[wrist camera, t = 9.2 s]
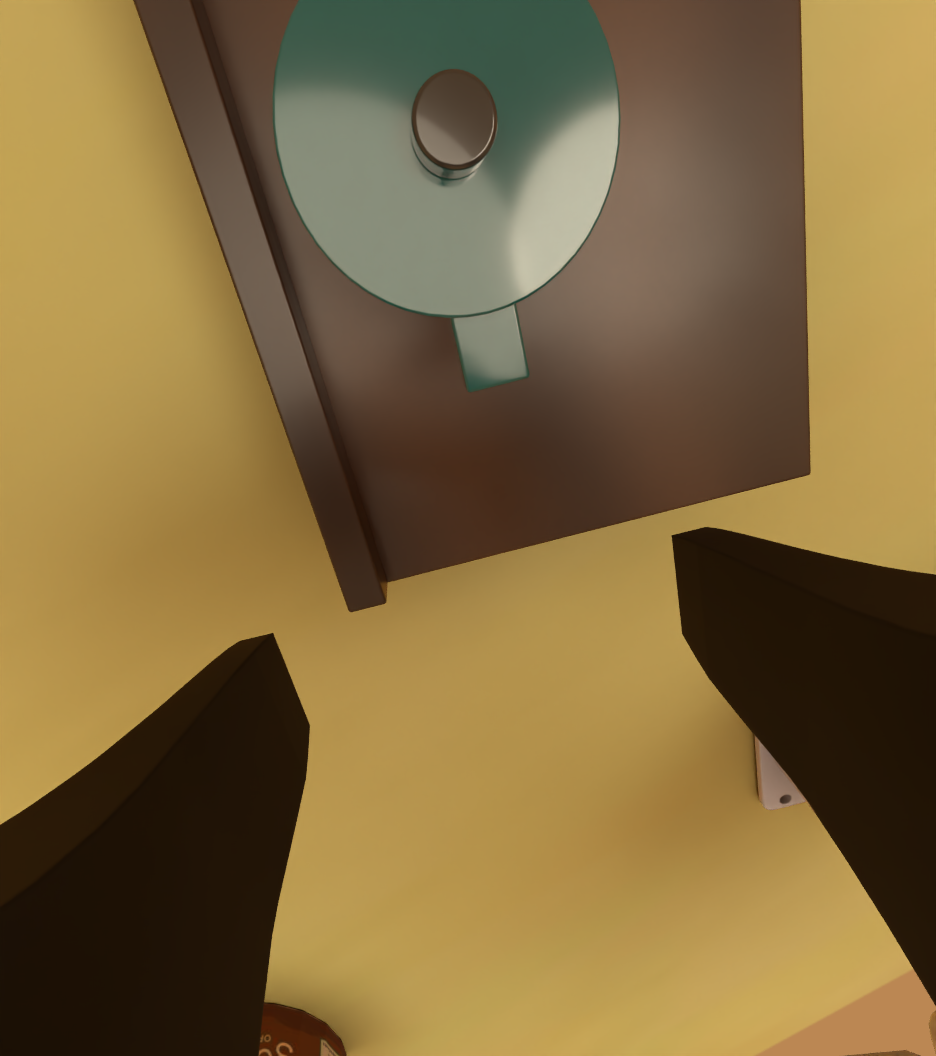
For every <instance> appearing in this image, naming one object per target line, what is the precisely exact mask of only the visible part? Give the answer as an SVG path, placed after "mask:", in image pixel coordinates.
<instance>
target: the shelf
mask: <svg viewBox="0 0 936 1056" xmlns="http://www.w3.org/2000/svg"><path fill="white" fill-rule="evenodd" d="M133 1H134V4H135V6H136V9H137V12H138V15H139V18H140V21H141V23H142V26H143V29H144V32H145V35H146V38H147V40H148V43H149V46H150V49H151V52H152V55H153V57H154V60H155V63H156V66H157V69H158V72H159V75H160V77H161V80H162V83H163V86H164V89H165V92H166V94H167V97H168V100H169V103H170V106H171V109H172V111H173V114H174V117H175V120H176V123H177V126H178V128H179V131H180V134H181V137H182V140H183V143H184V145H185V148H186V151H187V154H188V157H189V160H190V162H191V165H192V168H193V171H194V174H195V177H196V179H197V182H198V185H199V188H200V191H201V194H202V196H203V199H204V202H205V205H206V208H207V211H208V213H209V216H210V219H211V222H212V225H213V228H214V230H215V233H216V236H217V239H218V242H219V245H220V247H221V250H222V253H223V256H224V259H225V262H226V265H227V267H228V270H229V273H230V276H231V279H232V282H233V284H234V287H235V290H236V293H237V296H238V299H239V301H240V304H241V307H242V310H243V313H244V316H245V318H246V321H247V324H248V327H249V330H250V333H251V335H252V338H253V341H254V344H255V347H256V350H257V352H258V355H259V358H260V361H261V364H262V367H263V369H264V372H265V375H266V378H267V381H268V384H269V386H270V389H271V392H272V395H273V398H274V401H275V403H276V406H277V409H278V412H279V415H280V418H281V420H282V423H283V426H284V429H285V432H286V435H287V437H288V440H289V443H290V446H291V449H292V452H293V455H294V457H295V460H296V463H297V466H298V469H299V472H300V474H301V477H302V480H303V483H304V486H305V489H306V491H307V494H308V497H309V500H310V503H311V506H312V508H313V511H314V514H315V517H316V520H317V523H318V525H319V528H320V531H321V534H322V537H323V540H324V542H325V545H326V548H327V551H328V554H329V557H330V559H331V562H332V565H333V568H334V571H335V574H336V576H337V579H338V582H339V585H340V588H341V591H342V593H343V596H344V599H345V602H346V605H347V608H348V610H349V612H354V611H358V610H362V609H366V608H370V607H374V606H378V605H382V604H385V603H386V599H387V582H391V581H395V580H399V579H403V578H407V577H411V576H415V575H418V574H422V573H426V572H430V571H434V570H438V569H442V568H446V567H450V566H454V565H458V564H462V563H466V562H469V561H473V560H477V559H481V558H485V557H489V556H493V555H497V554H501V553H505V552H509V551H513V550H516V549H520V548H524V547H528V546H532V545H536V544H540V543H544V542H548V541H552V540H556V539H560V538H563V537H567V536H571V535H575V534H579V533H583V532H587V531H591V530H595V529H599V528H603V527H607V526H611V525H614V524H618V523H622V522H626V521H630V520H634V519H638V518H642V517H646V516H650V515H654V514H658V513H661V512H665V511H669V510H673V509H677V508H681V507H685V506H689V505H693V504H697V503H701V502H705V501H708V500H712V499H716V498H720V497H724V496H728V495H732V494H736V493H740V492H744V491H748V490H752V489H756V488H759V487H763V486H767V485H771V484H775V483H779V482H783V481H787V480H791V479H795V478H799V477H803V476H806V475H809V474H810V425H809V377H808V330H807V282H806V234H805V187H804V139H803V91H802V44H801V0H588V1H589V3H590V5H591V6H592V8H593V10H594V12H595V13H596V15H597V18H598V20H599V22H600V25H601V27H602V29H603V32H604V34H605V37H606V39H607V42H608V45H609V49H610V52H611V56H612V59H613V62H614V66H615V71H616V77H617V83H618V89H619V98H620V115H621V124H620V145H619V151H618V157H617V164H616V170H615V174H614V177H613V181H612V185H611V188H610V192H609V195H608V197H607V200H606V203H605V205H604V208H603V210H602V213H601V215H600V217H599V219H598V221H597V223H596V225H595V227H594V228H593V230H592V232H591V234H590V236H589V238H588V239H587V240H586V242H585V243H584V245H583V246H582V248H581V249H580V250H579V252H578V253H577V255H576V256H575V257H574V258H573V259H572V261H571V262H570V263H569V264H568V265H567V266H566V267H565V268H564V269H563V271H562V272H561V273H560V274H558V275H557V276H556V277H555V278H554V279H553V280H551V281H550V282H549V283H548V284H547V285H546V286H545V287H543V288H542V289H540V290H539V291H537V292H536V293H534V294H532V295H531V296H529V297H528V298H526V299H524V300H522V301H520V302H518V303H516V304H517V309H518V314H519V320H520V325H521V330H522V335H523V341H524V346H525V351H526V356H527V362H528V367H529V372H530V375H529V377H528V378H527V379H524V380H520V381H516V382H512V383H508V384H504V385H500V386H496V387H492V388H488V389H484V390H480V391H476V392H472V393H469V392H468V391H467V390H466V388H465V387H464V385H463V381H462V376H461V372H460V368H459V363H458V359H457V355H456V351H455V346H454V342H453V338H452V333H451V329H450V325H449V321H448V318H439V317H429V316H424V315H420V314H416V313H411V312H407V311H404V310H402V309H399V308H397V307H394V306H391V305H389V304H386V303H385V302H383V301H381V300H379V299H377V298H375V297H374V296H372V295H370V294H368V293H367V292H365V291H364V290H362V289H361V288H360V287H358V286H357V285H356V284H354V283H353V282H351V281H350V280H349V279H348V278H347V277H346V276H344V275H343V274H342V273H341V272H340V271H339V270H338V269H337V268H336V267H335V266H334V265H333V264H332V263H331V262H330V261H329V260H328V258H327V257H326V256H325V255H324V254H323V253H322V251H321V250H320V249H319V248H318V247H317V245H316V244H315V242H314V241H313V239H312V238H311V236H310V235H309V233H308V232H307V230H306V229H305V227H304V226H303V224H302V222H301V220H300V218H299V216H298V214H297V212H296V210H295V208H294V206H293V204H292V202H291V199H290V197H289V194H288V191H287V189H286V186H285V183H284V180H283V178H282V174H281V170H280V166H279V162H278V158H277V154H276V148H275V140H274V132H273V125H272V92H273V82H274V72H275V66H276V62H277V57H278V53H279V48H280V44H281V40H282V37H283V35H284V32H285V29H286V26H287V24H288V21H289V18H290V15H291V13H292V12H293V10H294V8H295V6H296V4H297V2H298V0H133Z"/></svg>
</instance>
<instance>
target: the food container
mask: <svg viewBox="0 0 936 1056" xmlns="http://www.w3.org/2000/svg"><path fill="white" fill-rule="evenodd" d="M259 1056H346V1052H345V1049H344V1046H343V1044H342V1041H341V1040H340V1038H339V1037H338V1036H337V1035H336V1034H335V1033H334V1032H333V1031H332V1030H331V1029H330V1027H329V1026H328V1025H327V1024H326V1023H324V1022H322V1021H320V1020H318V1019H316V1018H315V1017H313V1016H311V1015H309V1014H307V1013H305V1012H304V1011H301V1010H297V1009H293V1008H289V1007H285V1006H281V1005H277V1004H267V1003H264V1007H263V1017H262V1027H261V1037H260V1047H259Z"/></svg>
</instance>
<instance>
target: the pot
mask: <svg viewBox="0 0 936 1056" xmlns="http://www.w3.org/2000/svg"><path fill="white" fill-rule="evenodd" d="M620 124H621V115H620V98H619V89H618V83H617V77H616V71H615V66H614V62H613V59H612V56H611V52H610V49H609V45H608V42H607V39H606V37H605V34H604V32H603V29H602V27H601V25H600V22H599V20H598V18H597V15H596V13H595V12H594V10H593V8H592V6H591V5H590V3H589V1H588V0H298V2H297V4H296V6H295V8H294V10H293V12H292V13H291V15H290V18H289V21H288V24H287V26H286V29H285V32H284V35H283V37H282V40H281V44H280V48H279V53H278V57H277V62H276V66H275V72H274V82H273V92H272V125H273V132H274V140H275V148H276V154H277V158H278V162H279V166H280V170H281V174H282V178H283V180H284V183H285V186H286V189H287V191H288V194H289V197H290V199H291V202H292V204H293V206H294V208H295V210H296V212H297V214H298V216H299V218H300V220H301V222H302V224H303V226H304V227H305V229H306V230H307V232H308V233H309V235H310V236H311V238H312V239H313V241H314V242H315V244H316V245H317V247H318V248H319V249H320V250H321V251H322V253H323V254H324V255H325V256H326V257H327V258H328V260H329V261H330V262H331V263H332V264H333V265H334V266H335V267H336V268H337V269H338V270H339V271H340V272H341V273H342V274H343V275H344V276H346V277H347V278H348V279H349V280H350V281H351V282H353V283H354V284H356V285H357V286H358V287H360V288H361V289H362V290H364V291H365V292H367V293H368V294H370V295H372V296H374V297H375V298H377V299H379V300H381V301H383V302H385V303H386V304H389V305H391V306H394V307H397V308H399V309H402V310H404V311H407V312H411V313H416V314H420V315H424V316H429V317H439V318H448V321H449V325H450V329H451V333H452V338H453V342H454V346H455V351H456V355H457V359H458V363H459V368H460V372H461V376H462V381H463V385H464V387H465V388H466V390H467V391H468V392H469V393H472V392H476V391H480V390H484V389H488V388H492V387H496V386H500V385H504V384H508V383H512V382H516V381H520V380H524V379H527V378H528V377H529V375H530V372H529V367H528V362H527V356H526V351H525V346H524V341H523V335H522V330H521V325H520V320H519V314H518V309H517V304H516V303H518V302H520V301H522V300H524V299H526V298H528V297H529V296H531V295H532V294H534V293H536V292H537V291H539V290H540V289H542V288H543V287H545V286H546V285H547V284H548V283H549V282H550V281H551V280H553V279H554V278H555V277H556V276H557V275H558V274H560V273H561V272H562V271H563V269H564V268H565V267H566V266H567V265H568V264H569V263H570V262H571V261H572V259H573V258H574V257H575V256H576V255H577V253H578V252H579V250H580V249H581V248H582V246H583V245H584V243H585V242H586V240H587V239H588V238H589V236H590V234H591V232H592V230H593V228H594V227H595V225H596V223H597V221H598V219H599V217H600V215H601V213H602V210H603V208H604V205H605V203H606V200H607V197H608V195H609V192H610V188H611V185H612V181H613V177H614V174H615V170H616V164H617V157H618V151H619V145H620Z"/></svg>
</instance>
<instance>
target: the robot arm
mask: <svg viewBox="0 0 936 1056" xmlns="http://www.w3.org/2000/svg"><path fill="white" fill-rule="evenodd" d="M672 542H673V551H674V561H675V570H676V580H677V589H678V599H679V608H680V617H681V627H682V634H683V636H684V638H685V639H686V641H687V643H688V645H689V646H690V648H691V650H692V652H693V653H694V655H695V657H696V658H697V660H698V662H699V663H700V665H701V666H702V668H703V670H704V671H705V673H706V675H707V676H708V678H709V679H710V680H711V682H712V683H713V684H714V685H715V687H716V688H717V689H718V691H719V692H720V693H721V694H722V695H723V697H724V698H725V699H726V700H727V702H728V703H729V704H730V705H731V707H732V708H733V709H734V710H735V712H736V713H737V714H738V715H739V717H740V718H741V719H742V720H743V721H744V723H745V724H746V725H747V726H748V727H749V729H750V730H751V731H752V732H753V734H754V735H755V749H756V764H757V778H758V793H759V800H760V803H761V804H762V805H763V807H764V808H765V809H768V810H775V809H779V808H783V807H787V806H791V805H795V804H799V803H802V802H807V803H808V805H809V806H810V807H811V809H812V810H813V811H814V812H815V814H816V815H817V816H818V818H819V819H820V821H821V822H822V824H823V825H824V827H825V829H826V830H827V832H828V833H829V835H830V836H831V838H832V839H833V841H834V842H835V844H836V845H837V847H838V848H839V850H840V851H841V853H842V854H843V856H844V857H845V859H846V860H847V862H848V863H849V865H850V867H851V868H852V870H853V871H854V873H855V875H856V876H857V878H858V879H859V881H860V882H861V884H862V886H863V887H864V889H865V890H866V892H867V894H868V895H869V897H870V898H871V900H872V901H873V903H874V905H875V906H876V908H877V909H878V911H879V913H880V914H881V916H882V917H883V919H884V921H885V922H886V924H887V925H888V927H889V929H890V930H891V932H892V934H893V935H894V937H895V939H896V940H897V942H898V944H899V945H900V947H901V949H902V950H903V952H904V954H905V955H906V957H907V959H908V960H909V962H910V964H911V965H912V967H913V969H914V970H915V972H916V973H917V975H918V977H919V979H920V980H921V982H922V984H923V985H924V987H925V989H926V990H927V992H928V994H929V995H930V997H931V999H932V1000H933V1002H934V1004H935V1005H936V575H934V574H927V573H920V572H912V571H906V570H900V569H894V568H888V567H883V566H878V565H873V564H868V563H863V562H858V561H853V560H848V559H843V558H838V557H834V556H830V555H825V554H821V553H817V552H812V551H808V550H804V549H800V548H796V547H792V546H788V545H784V544H780V543H776V542H772V541H768V540H764V539H761V538H757V537H753V536H749V535H745V534H741V533H736V532H732V531H727V530H723V529H717V528H709V527H704V528H700V529H696V530H692V531H688V532H684V533H680V534H675V535H672ZM309 731H310V724H309V722H308V719H307V717H306V714H305V712H304V709H303V707H302V704H301V702H300V699H299V697H298V694H297V692H296V689H295V687H294V684H293V682H292V679H291V677H290V674H289V672H288V669H287V667H286V664H285V662H284V659H283V657H282V654H281V652H280V649H279V647H278V644H277V642H276V639H275V637H274V634H273V633H271V634H267V635H263V636H259V637H255V638H250V639H246V640H242V641H239V642H237V643H236V644H234V645H233V646H231V647H230V648H228V649H227V650H226V651H224V652H223V653H222V654H221V655H219V656H218V657H217V658H216V659H214V660H213V661H212V662H211V663H210V664H209V665H207V666H206V667H205V668H204V669H203V670H202V671H200V672H199V673H198V674H197V675H196V676H195V677H193V678H192V679H191V680H190V681H189V682H188V683H187V684H185V685H184V686H183V687H182V688H181V689H180V690H178V691H177V692H176V693H175V694H174V695H173V696H172V697H170V698H169V699H168V700H167V701H166V702H165V703H164V704H162V705H161V706H160V707H159V708H158V709H157V710H155V711H154V712H153V713H152V714H151V715H149V716H148V717H147V718H146V719H144V720H143V721H142V722H141V723H140V724H138V725H137V726H136V727H135V728H133V729H132V730H131V731H130V732H129V733H127V734H126V735H125V736H124V737H122V738H121V739H120V740H119V741H117V742H116V743H115V744H114V745H113V746H111V747H110V748H109V749H108V750H106V751H105V752H104V753H103V754H101V755H100V756H99V757H98V758H96V759H95V760H94V761H92V762H91V763H90V764H88V765H87V766H86V767H84V768H83V769H82V770H80V771H79V772H78V773H76V774H75V775H73V776H72V777H71V778H69V779H68V780H67V781H65V782H64V783H62V784H61V785H59V786H58V787H57V788H55V789H54V790H52V791H51V792H49V793H48V794H46V795H45V796H44V797H42V798H41V799H39V800H38V801H36V802H35V803H34V804H32V805H31V806H29V807H28V808H26V809H25V810H23V811H22V812H20V813H19V814H17V815H15V816H14V817H12V818H11V819H9V820H7V821H6V822H4V823H2V824H1V825H0V1056H259V1047H260V1037H261V1027H262V1017H263V1007H264V998H265V990H266V982H267V973H268V965H269V957H270V949H271V940H272V933H273V928H274V922H275V917H276V912H277V906H278V901H279V897H280V892H281V888H282V884H283V879H284V875H285V870H286V866H287V861H288V857H289V853H290V848H291V844H292V839H293V835H294V831H295V826H296V822H297V817H298V813H299V808H300V803H301V799H302V794H303V789H304V785H305V780H306V772H307V761H308V748H309ZM929 1028H930V1035H931V1040H932V1042H933V1046H934V1049H935V1052H936V1011H935V1012H934V1013H933V1014H932V1015H931V1017H930V1022H929ZM848 1056H920V1055H917V1054H915V1053H912V1052H909V1051H906V1050H903V1051H892V1052H881V1053H870V1054H859V1055H848Z"/></svg>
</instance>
